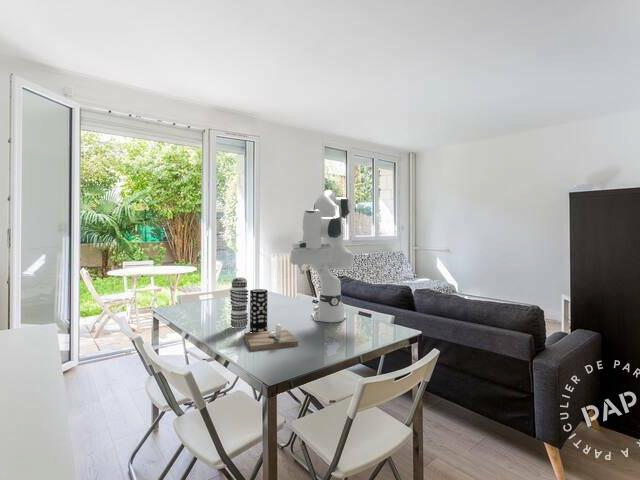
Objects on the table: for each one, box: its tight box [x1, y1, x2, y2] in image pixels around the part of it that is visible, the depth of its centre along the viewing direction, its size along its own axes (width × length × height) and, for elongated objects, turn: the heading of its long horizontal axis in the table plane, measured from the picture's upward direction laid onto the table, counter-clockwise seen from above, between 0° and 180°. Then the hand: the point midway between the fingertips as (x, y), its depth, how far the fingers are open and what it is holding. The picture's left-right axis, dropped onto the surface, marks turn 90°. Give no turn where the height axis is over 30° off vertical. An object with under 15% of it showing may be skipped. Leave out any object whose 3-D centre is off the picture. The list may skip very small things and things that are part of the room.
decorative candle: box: [229, 276, 250, 329], centre depth 178 cm, size 9×9×25 cm
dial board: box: [243, 329, 299, 351], centre depth 155 cm, size 19×20×2 cm
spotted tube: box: [249, 288, 268, 333], centre depth 171 cm, size 8×8×20 cm
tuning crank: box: [269, 323, 282, 339], centre depth 154 cm, size 10×4×6 cm, turn 23°
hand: (311, 273), depth 164 cm, fingers open, 8 cm apart
